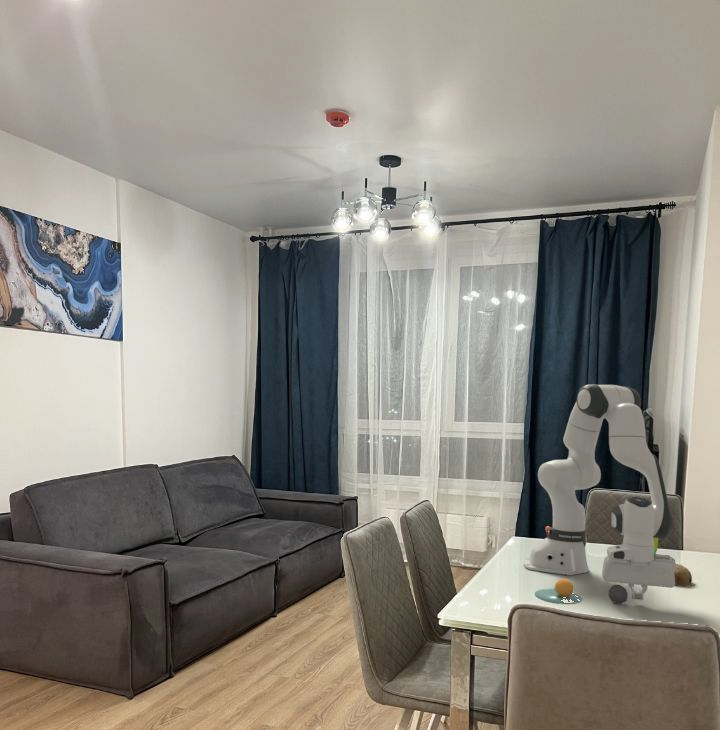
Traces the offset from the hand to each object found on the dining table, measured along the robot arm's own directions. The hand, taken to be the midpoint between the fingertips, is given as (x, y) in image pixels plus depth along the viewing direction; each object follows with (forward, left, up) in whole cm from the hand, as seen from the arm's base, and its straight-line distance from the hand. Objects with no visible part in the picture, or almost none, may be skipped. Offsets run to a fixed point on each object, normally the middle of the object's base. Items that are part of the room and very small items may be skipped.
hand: (637, 598), depth 201 cm
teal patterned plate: (-23, 0, -2) cm, 23 cm away
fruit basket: (+11, +54, -2) cm, 55 cm away
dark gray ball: (-6, -1, +1) cm, 6 cm away
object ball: (-21, 0, +1) cm, 21 cm away
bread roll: (+16, +30, -2) cm, 34 cm away
